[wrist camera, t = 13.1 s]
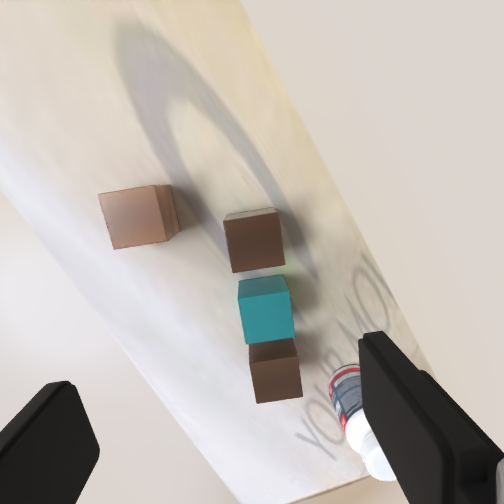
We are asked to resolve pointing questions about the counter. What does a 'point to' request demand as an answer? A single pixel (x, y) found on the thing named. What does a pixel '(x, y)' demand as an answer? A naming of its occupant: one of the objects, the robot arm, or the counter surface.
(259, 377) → the brown cube
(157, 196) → the caramel wooden cube
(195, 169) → the counter surface
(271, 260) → the taupe block
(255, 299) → the teal toy cube
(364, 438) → the pill bottle
